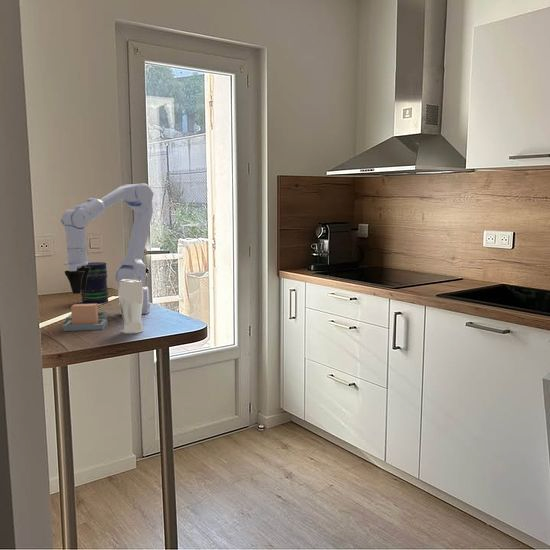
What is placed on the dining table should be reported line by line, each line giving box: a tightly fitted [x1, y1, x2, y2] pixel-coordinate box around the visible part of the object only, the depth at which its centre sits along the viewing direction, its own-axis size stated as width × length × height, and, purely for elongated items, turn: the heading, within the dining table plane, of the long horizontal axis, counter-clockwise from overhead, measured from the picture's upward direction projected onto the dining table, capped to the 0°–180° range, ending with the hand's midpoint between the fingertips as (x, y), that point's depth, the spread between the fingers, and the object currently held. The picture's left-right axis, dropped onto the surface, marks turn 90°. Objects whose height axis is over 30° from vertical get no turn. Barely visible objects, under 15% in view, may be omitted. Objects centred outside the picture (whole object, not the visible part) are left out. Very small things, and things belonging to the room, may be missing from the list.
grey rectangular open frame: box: [65, 311, 109, 323], centre depth 181 cm, size 12×8×2 cm
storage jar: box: [80, 261, 109, 305], centre depth 213 cm, size 10×10×15 cm
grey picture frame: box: [62, 318, 109, 332], centre depth 169 cm, size 12×8×2 cm
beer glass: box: [117, 279, 144, 335], centre depth 161 cm, size 7×7×15 cm
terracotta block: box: [70, 303, 99, 325], centre depth 169 cm, size 7×4×7 cm, turn 97°
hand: (79, 291), depth 175 cm, fingers open, 7 cm apart
